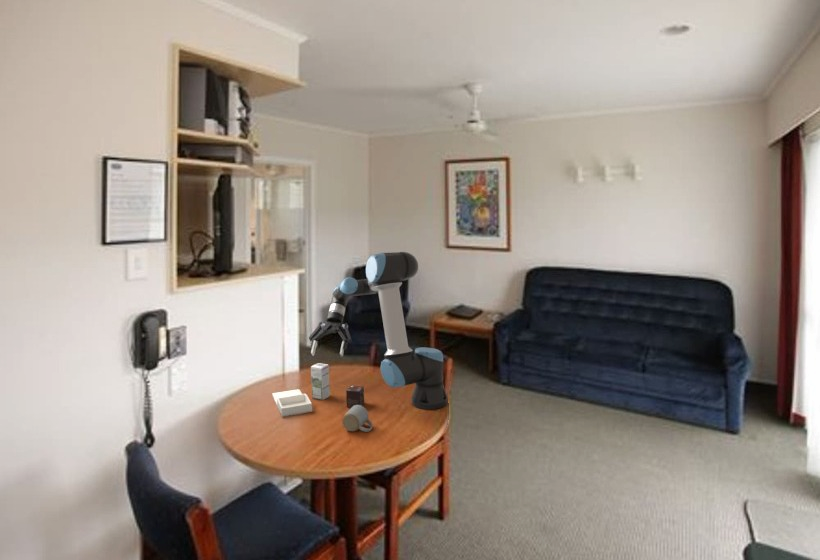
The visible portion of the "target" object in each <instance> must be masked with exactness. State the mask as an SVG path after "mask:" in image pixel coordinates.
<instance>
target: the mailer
mask: <svg viewBox="0 0 820 560" xmlns="http://www.w3.org/2000/svg"><path fill="white" fill-rule="evenodd" d="M271 394H272V398H273V400H274V403H275V404H276V406H277V410H278V412H279V414H280V416H281V418H283V417H289V415H290V416H294V415H295V416H296V415H301V414H306V413H307V414H308V413H312V412H313V403H312V402H311V399H310V398H309V396H308V394H306V393H302V392H301V390H300V388H299V389H292V390H285V391H279V392H273V393H271Z"/></svg>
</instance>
